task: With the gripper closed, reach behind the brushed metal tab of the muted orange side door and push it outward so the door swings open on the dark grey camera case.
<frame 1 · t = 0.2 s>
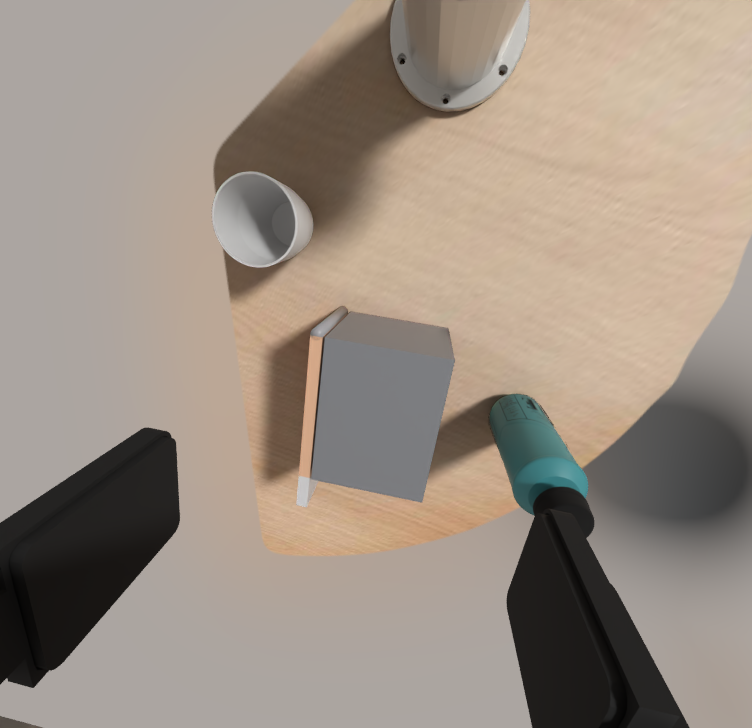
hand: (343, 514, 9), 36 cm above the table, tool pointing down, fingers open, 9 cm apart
door: (323, 402, 43), point 6 cm above the table, hinge at 0.0°
beverage bottle: (512, 409, 47), on the table
camera case: (389, 379, 47), on the table
cup: (293, 224, 43), on the table
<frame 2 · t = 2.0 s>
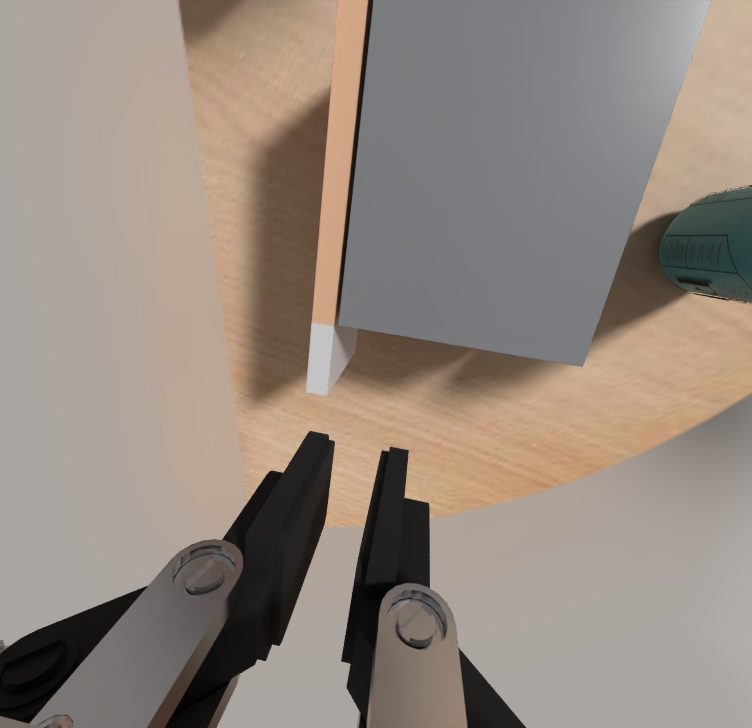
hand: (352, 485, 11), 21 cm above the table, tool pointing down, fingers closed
door: (357, 201, 22), point 6 cm above the table, hinge at 0.0°
beverage bottle: (692, 242, 26), on the table
camera case: (468, 195, 27), on the table
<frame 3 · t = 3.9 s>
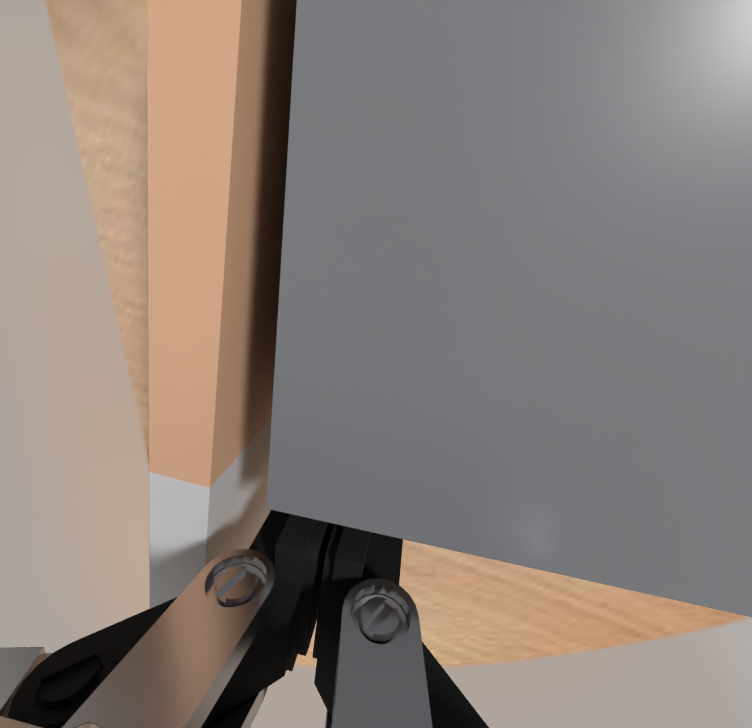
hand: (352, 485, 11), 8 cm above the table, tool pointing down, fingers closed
door: (316, 159, 10), point 6 cm above the table, hinge at 3.4°, touching gripper
camera case: (550, 166, 14), on the table
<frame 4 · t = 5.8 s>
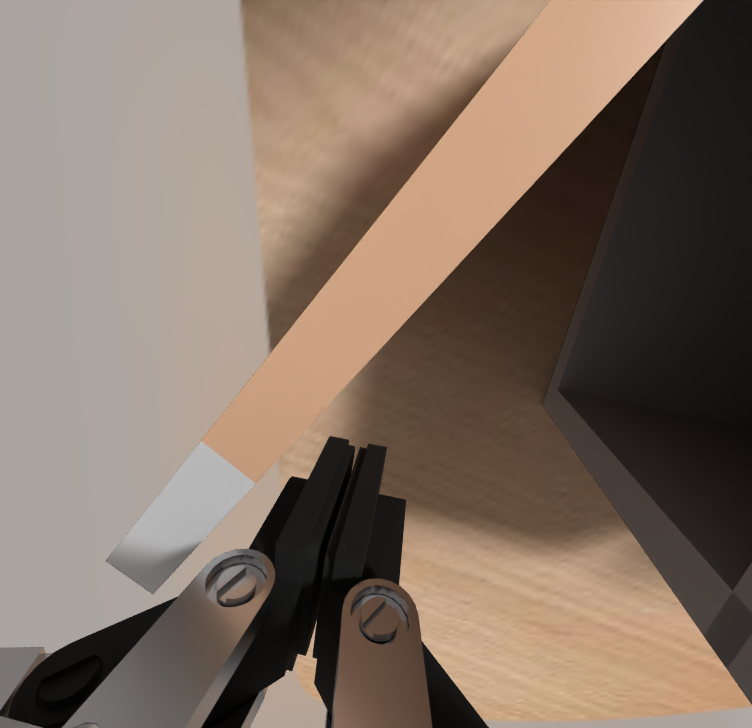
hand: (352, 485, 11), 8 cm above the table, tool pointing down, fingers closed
door: (464, 193, 10), point 6 cm above the table, hinge at 31.9°, touching gripper
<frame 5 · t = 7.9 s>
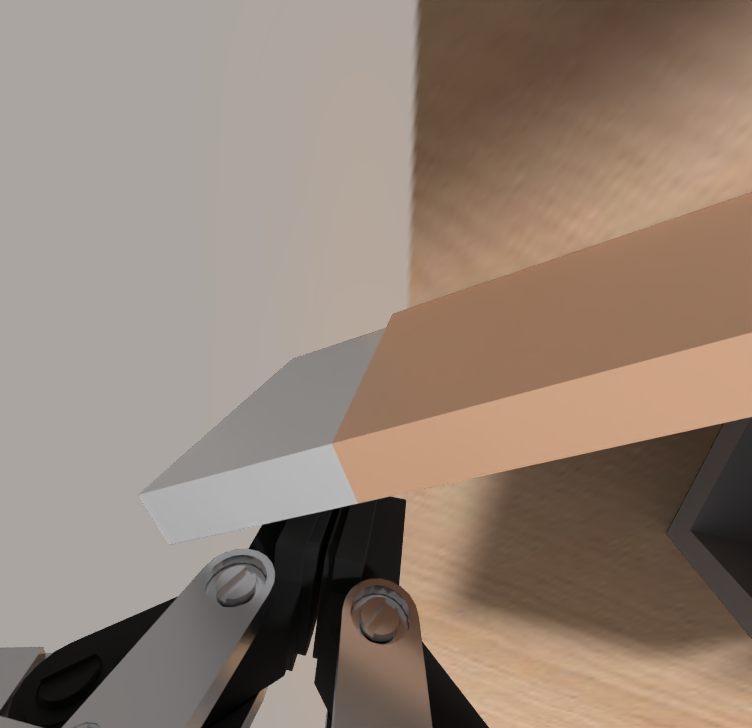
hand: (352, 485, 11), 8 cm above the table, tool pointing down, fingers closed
door: (605, 298, 10), point 6 cm above the table, hinge at 61.5°, touching gripper
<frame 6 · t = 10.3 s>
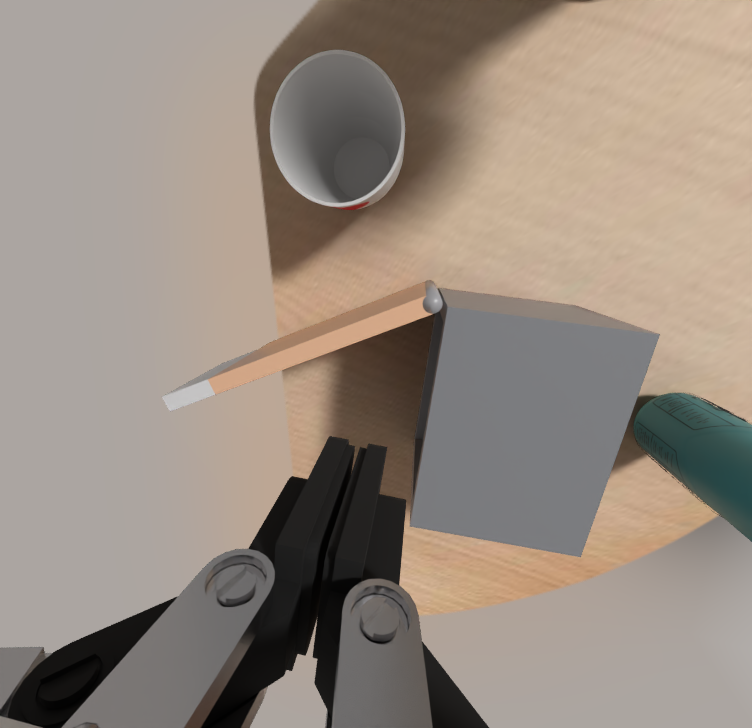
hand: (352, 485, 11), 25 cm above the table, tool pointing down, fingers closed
door: (314, 338, 30), point 6 cm above the table, hinge at 61.5°
beverage bottle: (658, 415, 34), on the table
camera case: (488, 380, 35), on the table
cup: (362, 169, 31), on the table
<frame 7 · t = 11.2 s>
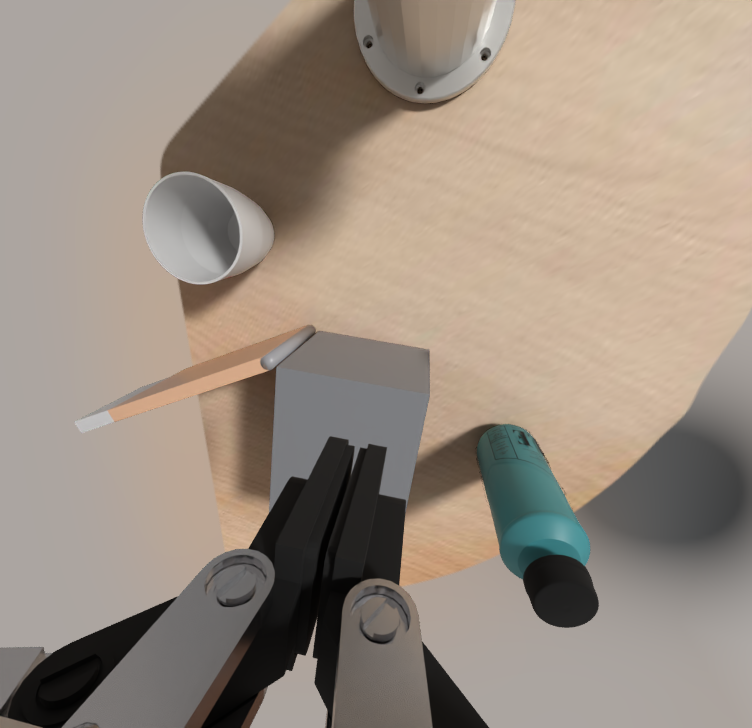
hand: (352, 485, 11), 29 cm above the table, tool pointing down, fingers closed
door: (205, 374, 37), point 6 cm above the table, hinge at 61.5°
beverage bottle: (502, 440, 41), on the table
camera case: (364, 406, 42), on the table
cup: (251, 232, 38), on the table
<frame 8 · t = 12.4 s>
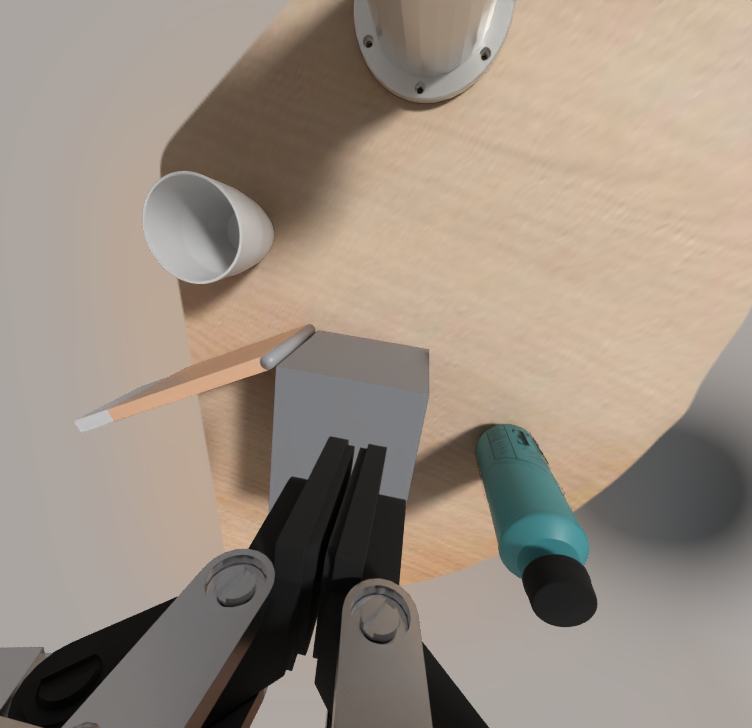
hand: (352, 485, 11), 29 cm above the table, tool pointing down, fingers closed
door: (205, 373, 37), point 6 cm above the table, hinge at 61.5°
beverage bottle: (502, 439, 41), on the table
camera case: (363, 406, 42), on the table
cup: (251, 232, 38), on the table
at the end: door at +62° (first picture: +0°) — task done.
